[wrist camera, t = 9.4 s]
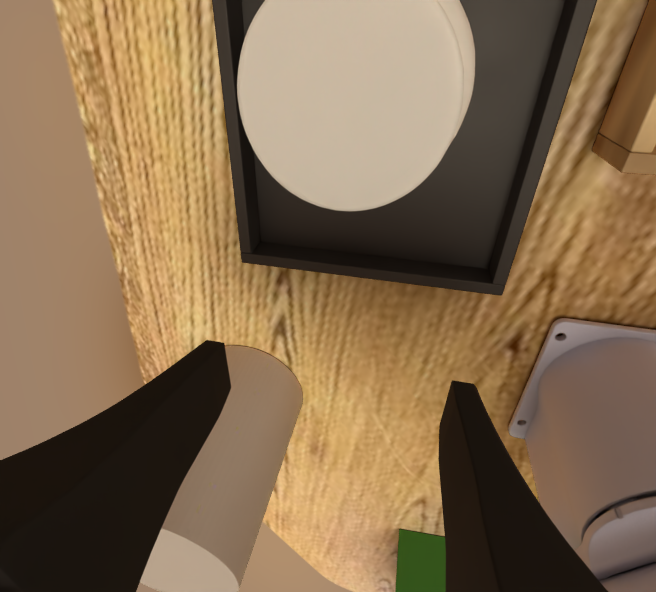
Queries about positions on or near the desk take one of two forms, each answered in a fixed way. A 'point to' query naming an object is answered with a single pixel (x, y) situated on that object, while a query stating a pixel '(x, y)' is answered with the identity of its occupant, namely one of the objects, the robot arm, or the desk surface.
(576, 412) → the robot arm
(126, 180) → the desk surface
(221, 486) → the off-white cylinder
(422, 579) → the hardback book
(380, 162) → the pill bottle
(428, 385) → the desk surface
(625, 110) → the wooden frame
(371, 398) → the desk surface
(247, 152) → the tray
